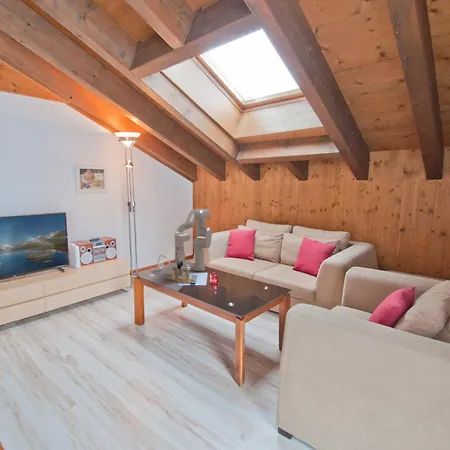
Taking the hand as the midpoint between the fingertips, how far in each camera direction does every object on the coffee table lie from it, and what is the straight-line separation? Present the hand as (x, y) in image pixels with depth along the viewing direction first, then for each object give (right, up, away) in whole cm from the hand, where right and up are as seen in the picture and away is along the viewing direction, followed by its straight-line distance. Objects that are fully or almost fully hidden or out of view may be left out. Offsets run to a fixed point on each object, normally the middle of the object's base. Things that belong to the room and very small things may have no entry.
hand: (180, 268), depth 289 cm
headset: (-18, -8, +24) cm, 31 cm away
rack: (0, -11, +2) cm, 11 cm away
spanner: (0, -1, 0) cm, 1 cm away
